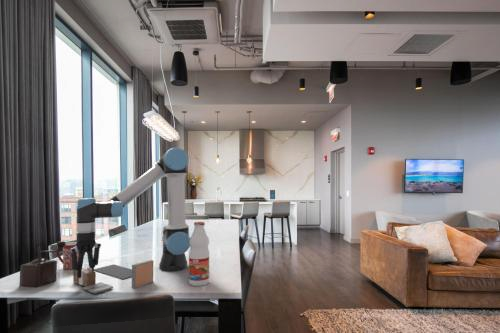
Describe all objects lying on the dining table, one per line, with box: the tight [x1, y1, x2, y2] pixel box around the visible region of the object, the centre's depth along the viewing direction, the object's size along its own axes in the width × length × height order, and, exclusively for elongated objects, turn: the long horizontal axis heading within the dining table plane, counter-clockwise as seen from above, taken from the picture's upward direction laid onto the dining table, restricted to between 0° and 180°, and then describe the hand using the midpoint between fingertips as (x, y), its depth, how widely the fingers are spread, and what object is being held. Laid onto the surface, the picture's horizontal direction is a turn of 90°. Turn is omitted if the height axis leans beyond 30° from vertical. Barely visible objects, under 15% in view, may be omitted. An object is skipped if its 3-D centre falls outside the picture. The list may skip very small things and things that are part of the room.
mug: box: [55, 241, 79, 271], centre depth 162 cm, size 13×9×14 cm
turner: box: [72, 267, 114, 295], centre depth 132 cm, size 24×8×6 cm, turn 56°
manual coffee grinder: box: [18, 240, 67, 288], centre depth 140 cm, size 16×11×18 cm
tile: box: [131, 259, 154, 289], centre depth 134 cm, size 10×2×10 cm, turn 146°
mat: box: [94, 263, 132, 281], centre depth 154 cm, size 12×28×1 cm, turn 56°
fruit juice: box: [188, 221, 210, 287], centre depth 137 cm, size 9×9×28 cm
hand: (85, 283), depth 134 cm, fingers closed on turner, 3 cm apart
